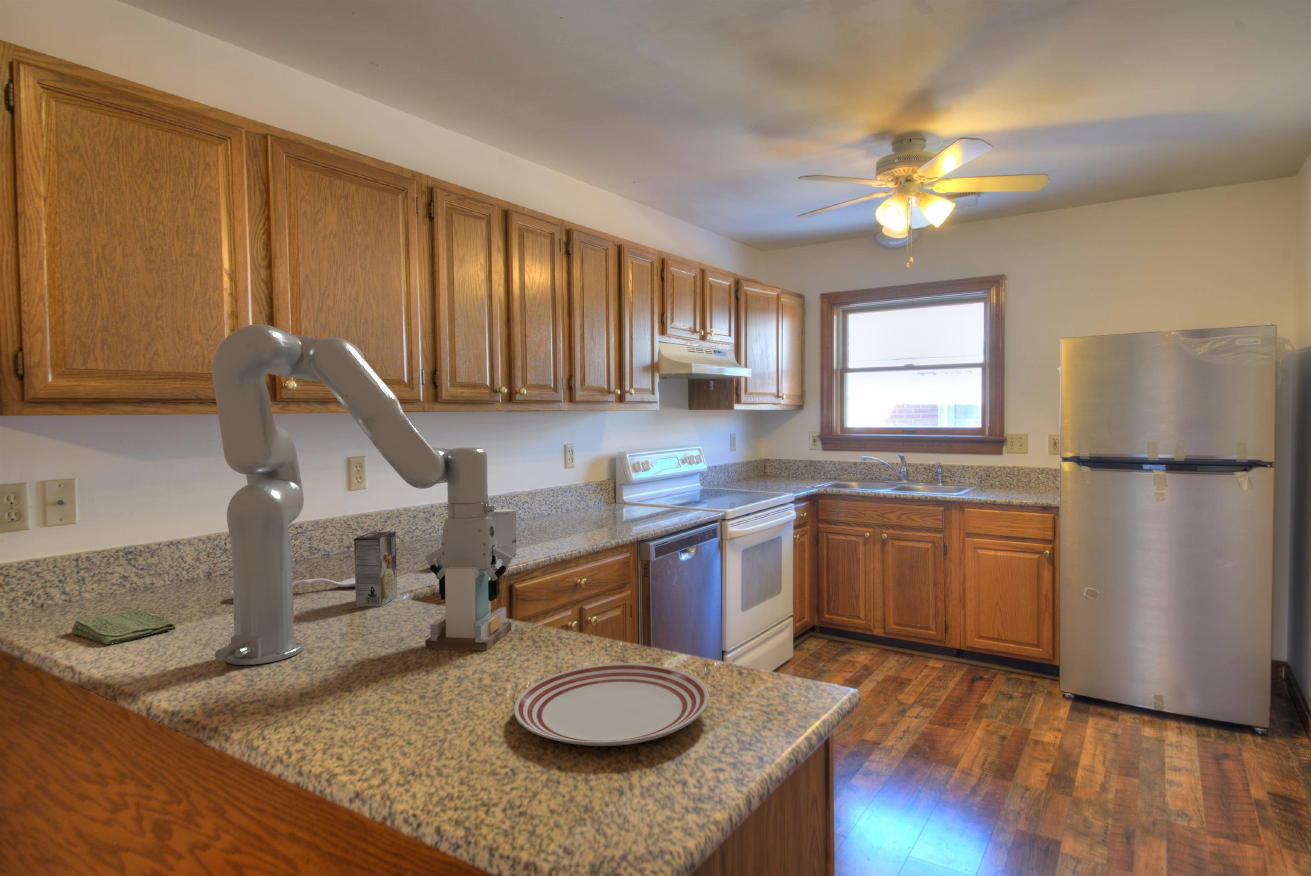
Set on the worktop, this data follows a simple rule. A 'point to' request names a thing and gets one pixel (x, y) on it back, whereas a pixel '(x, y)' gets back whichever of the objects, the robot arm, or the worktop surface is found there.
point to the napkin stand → (469, 641)
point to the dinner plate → (611, 704)
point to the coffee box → (375, 568)
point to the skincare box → (505, 530)
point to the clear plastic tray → (481, 629)
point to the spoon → (344, 583)
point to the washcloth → (122, 626)
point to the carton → (465, 600)
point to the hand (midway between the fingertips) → (469, 598)
